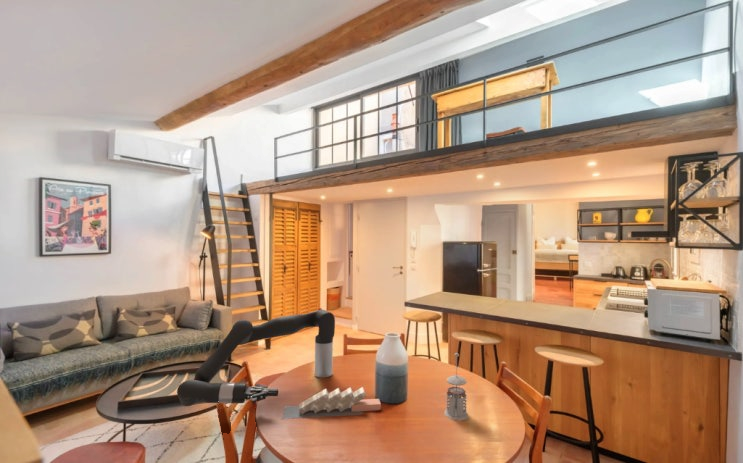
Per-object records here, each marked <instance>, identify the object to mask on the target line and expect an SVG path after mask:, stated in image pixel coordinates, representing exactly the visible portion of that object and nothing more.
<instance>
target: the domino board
mask: <svg viewBox="0 0 743 463" xmlns="http://www.w3.org/2000/svg"><path fill="white" fill-rule="evenodd" d="M299 408H300V405H288V406H287V405H286V406H285V405H284V407H283V412H282V415H281V420H285V419H286V420H288V419H289V420H290V419H305V418H318V417H319V418H321V417H322V418H323V417H325V418H326V417H339V416H340V417H342V416H357V415H364V411H353V412H352V410H351V406H350V407H348V408H347V409H345V410H343V411H341V412H340V410H339V408H338V407H337V408H335V409H333V410H332V411H330V412H327V410H326V408H324V409H322V410H320V411H319V412H317V413H315V412H314V410H313V408H312V409H310V410H309V411H307V412H305V413H304V414H302V413H301V411H300V410H299Z"/></svg>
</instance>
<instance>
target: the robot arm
mask: <svg viewBox="0 0 743 463" xmlns="http://www.w3.org/2000/svg"><path fill="white" fill-rule="evenodd" d="M335 326H336V319H335V315H334V313H332V312H330V311H328V310H326V309H325V310H324V309H318V310H315V311H311V312H309V313H302V314H293V315H285V316H278V317H275V318H273V319H270V320H268V321H266V322H264V323H261V324H257V325H254V324H253V323H252V322H251V321H250V320H248V319H239V320H237V321H235V323H234V324H233V325H232V327H231V329H230V331H229V333H228V334H227V335H226V337H225V338H224V339H223V341H222V342H221V343H220V345H218V347H217V348H216V349H214V351H213V352H212V353H211V354H210V355H209V356H208V358H207V359H206V360H205V361H204V362H203V363H202V364H201V365H200V366H199V367H198V369H197V370H196V372H195V373H194V378H193V379H188V380H184V381H183V382H181V383H180V384H179V385H178V387H177V390H176V394H177V396H178V399H179V402H180V404H181V405H182V406H184V407H191V406H193V405H195V404H196V403H198V401H199V400H203V401H204V402H205V403H207V404H229V405H230V404H244V403H245V402H246V400H250V403H256V402H260V401H263V400H266V399H267V398H269V397H278V396H279V389H278V388H269V387H268V386H266V385H264V384H260V383H256V384H255V385H251V386H248V383H247V382H213V383H212V382H211V381H212V380H213V378H215V377H216V375H217V374H218V373H219V372H220V370H221V369H222V367H224V365H225V364H226V363H227V361H228V359H229V358H230V357H231V355H232V353H234V351H235V350H236V349H237V347H239V346H243V345H246V344H250V343H253V342H254V343H255V342H257V341H260V340H266V339H273V338H277V337H284V336H290V335H294V334H296V333H297V332H299V331H301V330H303V329H306V328H307V329H308V328H315V327H317V328H318V334H317V335H315V339H314V376H315V377H317V378H322V379H323V378H329V377H331V376H332V375H333V357H334V356H333V353H334V352H333V351H334V348H333V344H334V337H335V328H336V327H335ZM218 401H219V402H218Z"/></svg>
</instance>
